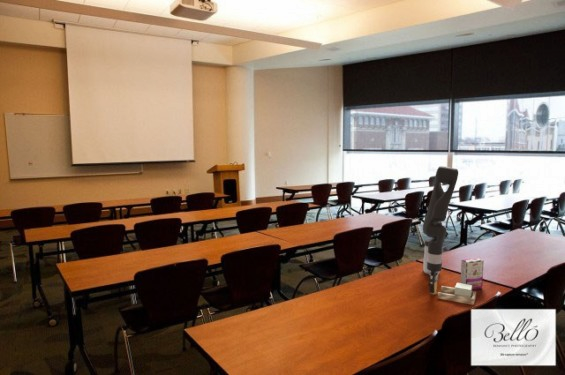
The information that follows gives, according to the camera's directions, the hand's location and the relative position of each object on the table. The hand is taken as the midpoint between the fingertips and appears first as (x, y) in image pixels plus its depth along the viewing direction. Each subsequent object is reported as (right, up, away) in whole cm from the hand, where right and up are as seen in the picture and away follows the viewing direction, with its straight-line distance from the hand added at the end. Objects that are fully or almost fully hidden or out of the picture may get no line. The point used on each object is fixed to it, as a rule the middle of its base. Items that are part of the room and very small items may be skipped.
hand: (433, 290), depth 222 cm
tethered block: (+7, -2, -4) cm, 9 cm away
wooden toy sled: (+10, -2, -5) cm, 12 cm away
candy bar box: (+24, -1, +8) cm, 25 cm away
